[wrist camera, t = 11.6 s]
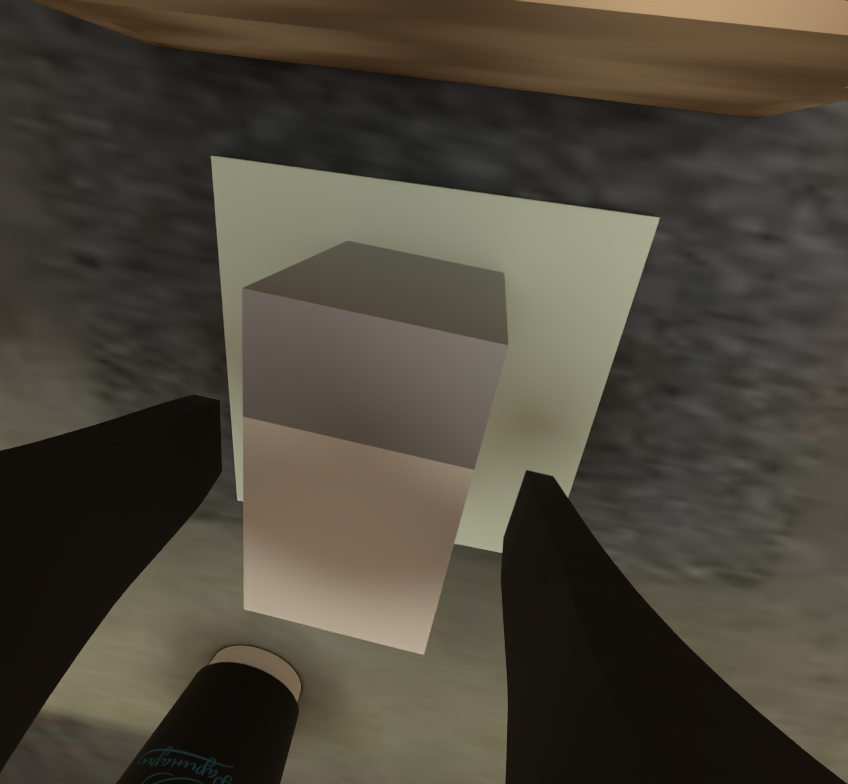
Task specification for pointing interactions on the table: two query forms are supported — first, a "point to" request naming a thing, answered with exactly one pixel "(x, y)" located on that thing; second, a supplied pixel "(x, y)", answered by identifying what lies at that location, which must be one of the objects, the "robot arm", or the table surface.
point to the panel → (470, 245)
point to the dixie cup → (225, 725)
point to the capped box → (363, 434)
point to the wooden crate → (530, 44)
